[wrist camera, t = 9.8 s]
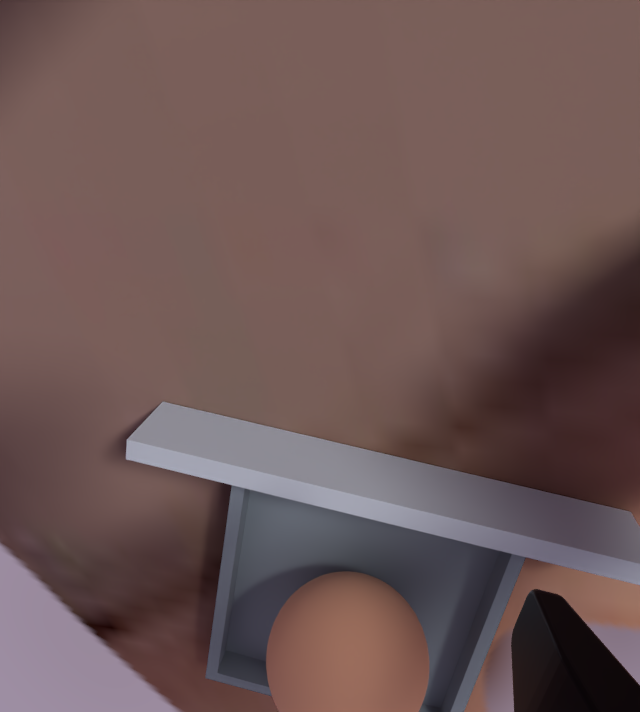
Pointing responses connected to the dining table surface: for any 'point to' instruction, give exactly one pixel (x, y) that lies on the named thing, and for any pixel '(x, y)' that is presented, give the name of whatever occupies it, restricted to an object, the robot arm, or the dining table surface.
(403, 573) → the grey square tray
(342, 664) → the ball
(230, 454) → the wall
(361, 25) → the dining table surface
